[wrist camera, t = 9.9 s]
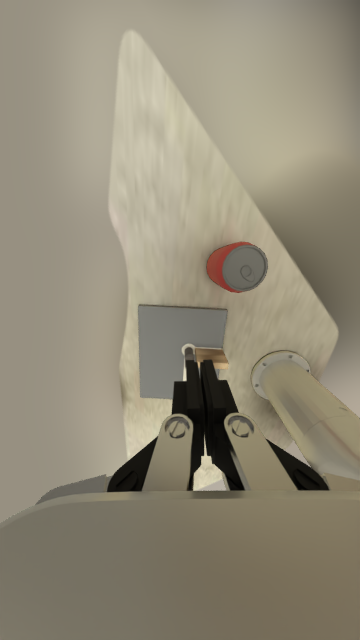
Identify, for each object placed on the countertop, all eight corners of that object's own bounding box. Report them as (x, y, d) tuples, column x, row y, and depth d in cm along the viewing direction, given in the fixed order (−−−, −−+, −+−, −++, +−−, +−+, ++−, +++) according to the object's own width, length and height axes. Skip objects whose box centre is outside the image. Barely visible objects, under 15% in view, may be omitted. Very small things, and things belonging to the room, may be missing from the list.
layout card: (226, 309, 36) (227, 310, 35) (214, 398, 43) (215, 401, 42) (139, 304, 36) (138, 306, 35) (141, 394, 43) (140, 397, 42)
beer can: (219, 291, 35) (237, 305, 23) (199, 263, 33) (207, 264, 22) (248, 269, 33) (282, 273, 22) (228, 239, 32) (254, 226, 20)
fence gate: (184, 347, 37) (184, 361, 32) (192, 346, 37) (194, 361, 32) (188, 392, 40) (189, 411, 35) (196, 391, 40) (198, 410, 35)
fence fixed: (222, 349, 37) (228, 363, 32) (221, 354, 38) (227, 369, 33) (195, 347, 37) (197, 361, 32) (194, 352, 38) (196, 367, 33)
